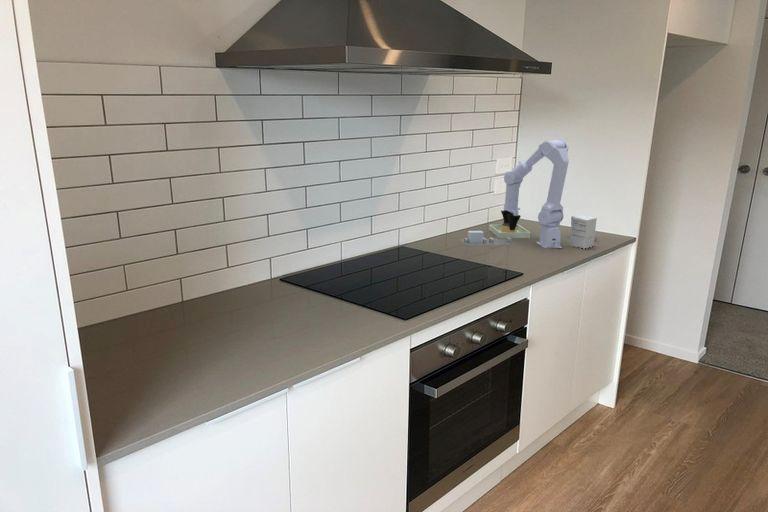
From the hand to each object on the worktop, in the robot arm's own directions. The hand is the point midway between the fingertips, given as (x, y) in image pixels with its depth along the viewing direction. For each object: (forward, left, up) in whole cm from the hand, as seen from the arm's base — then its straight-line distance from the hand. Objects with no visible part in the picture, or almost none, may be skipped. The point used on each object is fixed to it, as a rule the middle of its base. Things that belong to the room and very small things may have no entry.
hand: (509, 228), depth 277 cm
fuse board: (-14, +14, -3) cm, 20 cm away
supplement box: (-21, -25, -3) cm, 33 cm away
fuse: (-14, +20, -3) cm, 24 cm away
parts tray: (0, 0, -3) cm, 3 cm away
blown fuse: (0, 0, -3) cm, 3 cm away
